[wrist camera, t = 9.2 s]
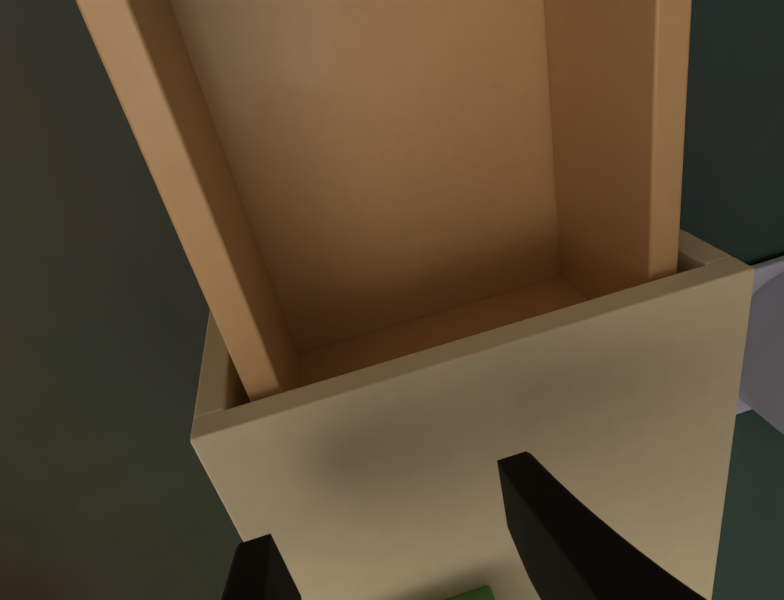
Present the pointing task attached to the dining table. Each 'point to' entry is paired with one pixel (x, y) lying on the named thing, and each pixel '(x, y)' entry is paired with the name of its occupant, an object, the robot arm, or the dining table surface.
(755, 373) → the robot arm
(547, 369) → the cabinet
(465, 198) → the drawer
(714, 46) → the dining table surface
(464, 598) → the green box
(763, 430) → the dining table surface
